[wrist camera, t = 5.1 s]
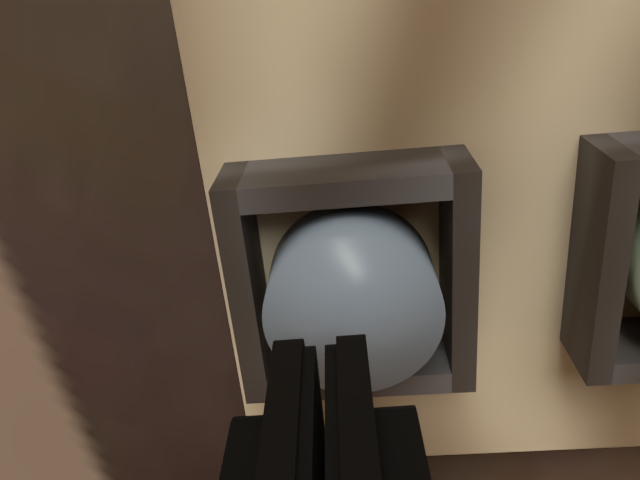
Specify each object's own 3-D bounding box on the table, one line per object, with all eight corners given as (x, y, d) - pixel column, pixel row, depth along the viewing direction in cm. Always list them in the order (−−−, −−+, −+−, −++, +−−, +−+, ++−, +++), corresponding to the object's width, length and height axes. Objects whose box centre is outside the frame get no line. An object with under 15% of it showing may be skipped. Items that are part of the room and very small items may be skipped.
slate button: (431, 195, 14) (445, 231, 12) (433, 338, 16) (445, 388, 14) (261, 207, 14) (250, 244, 12) (280, 347, 16) (273, 398, 14)
